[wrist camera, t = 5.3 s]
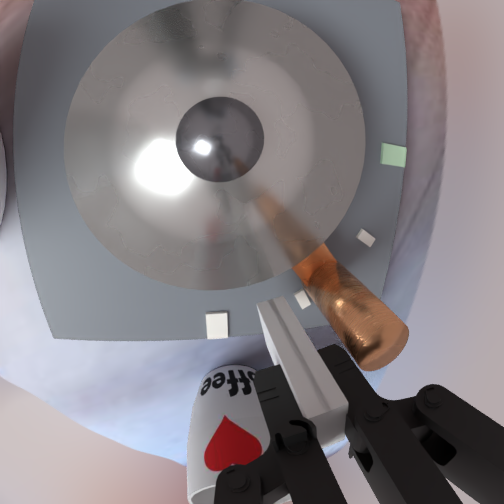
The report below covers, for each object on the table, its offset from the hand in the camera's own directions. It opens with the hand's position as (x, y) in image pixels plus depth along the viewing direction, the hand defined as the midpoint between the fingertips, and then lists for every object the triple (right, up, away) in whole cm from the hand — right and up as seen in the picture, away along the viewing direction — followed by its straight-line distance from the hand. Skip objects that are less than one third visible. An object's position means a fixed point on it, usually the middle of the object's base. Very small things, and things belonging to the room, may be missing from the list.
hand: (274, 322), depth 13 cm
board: (-3, +9, +1) cm, 10 cm away
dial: (-1, +7, -1) cm, 7 cm away
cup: (-3, -7, +8) cm, 11 cm away
